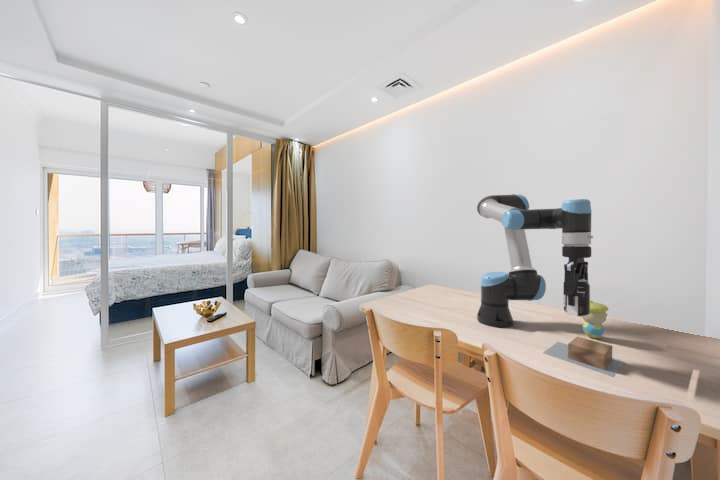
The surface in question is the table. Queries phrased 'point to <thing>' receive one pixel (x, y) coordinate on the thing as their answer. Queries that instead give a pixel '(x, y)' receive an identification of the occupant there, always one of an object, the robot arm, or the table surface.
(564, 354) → the plate
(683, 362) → the table surface
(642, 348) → the table surface
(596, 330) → the toy
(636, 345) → the table surface
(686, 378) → the table surface
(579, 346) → the walnut block
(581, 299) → the beverage can
